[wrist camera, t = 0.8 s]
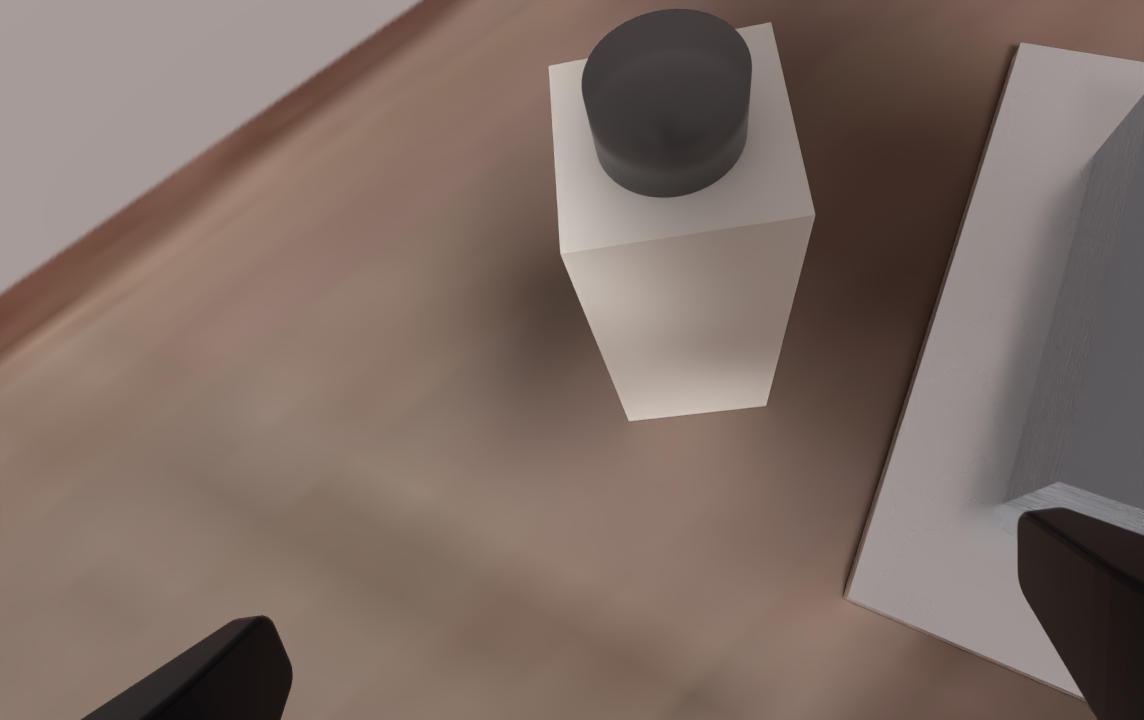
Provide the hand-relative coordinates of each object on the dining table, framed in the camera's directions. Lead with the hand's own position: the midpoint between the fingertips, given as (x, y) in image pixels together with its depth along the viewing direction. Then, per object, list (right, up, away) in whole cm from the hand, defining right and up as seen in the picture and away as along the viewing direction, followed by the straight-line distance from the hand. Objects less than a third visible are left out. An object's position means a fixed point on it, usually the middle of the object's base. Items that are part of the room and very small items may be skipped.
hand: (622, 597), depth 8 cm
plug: (+3, +3, +15) cm, 15 cm away
